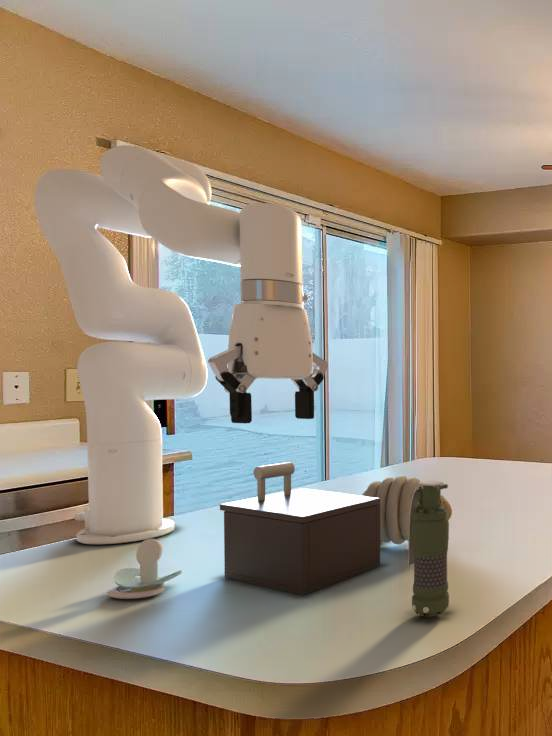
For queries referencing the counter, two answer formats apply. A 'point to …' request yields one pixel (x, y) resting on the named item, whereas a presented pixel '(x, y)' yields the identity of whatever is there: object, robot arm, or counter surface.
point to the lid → (295, 499)
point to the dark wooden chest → (301, 549)
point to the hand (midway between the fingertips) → (274, 420)
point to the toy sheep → (396, 506)
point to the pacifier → (142, 574)
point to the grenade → (429, 549)
